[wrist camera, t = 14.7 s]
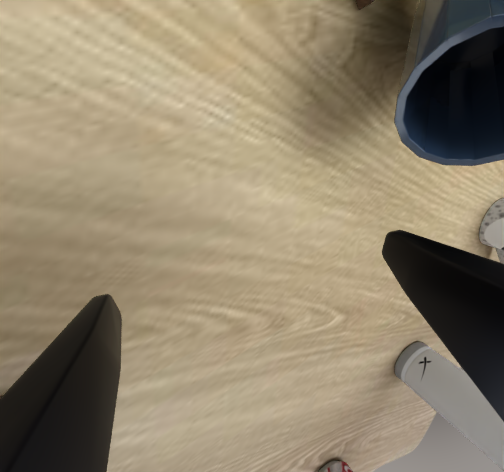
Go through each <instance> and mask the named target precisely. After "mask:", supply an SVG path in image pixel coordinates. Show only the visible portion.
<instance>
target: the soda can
mask: <svg viewBox="0 0 504 472" xmlns="http://www.w3.org/2000/svg"><path fill="white" fill-rule="evenodd" d="M318 472H353V471H352V470H351V468H350V467H349V466H348V465H347V463H346V462H343V461H332V462H329V463H328V464H326V465H325V466H323V467H322V468H321V469H320V470H319V471H318Z"/></svg>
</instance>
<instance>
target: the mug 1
mask: <svg viewBox="0 0 504 472" xmlns="http://www.w3.org/2000/svg"><path fill="white" fill-rule="evenodd" d="M394 121H395V122H394V123H395V125H396V128H397V131H398V133H399V136H400V139H401V141H402V143H403V144H405V145H406V146H407V147H408V148H409V149H410V150H411V151H413V152H414V153H415V154H416V155H417V156H419V157H421V158H424V159H427V160H430V161H433V162H436V163H439V164H442V165H461V166H473V165H474V166H475V165H480V164H485V163H490V162H494V161H499V160H504V0H420V1H419V4H418V7H417V9H416V11H415V15H414V20H413V25H412V30H411V35H410V39H409V44H408V49H407V54H406V58H405V63H404V68H403V73H402V77H401V82H400V87H399V92H398V96H397V104H396V111H395V118H394Z"/></svg>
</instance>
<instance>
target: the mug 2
mask: <svg viewBox="0 0 504 472" xmlns="http://www.w3.org/2000/svg"><path fill="white" fill-rule="evenodd" d="M479 239H480V242H481V243H482V244H485V245H488V246H491V247H494V248H496V251H497V254H498V257H499V260H500V262H501V263H503V264H504V198H501V199H499V200H498V201H496V202H495V203H494V204H493V205H492V206H491V207H490V209H489V210H488V212H487V213H486V215H485V217H484V219H483V221H482V224H481V227H480V232H479Z"/></svg>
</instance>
